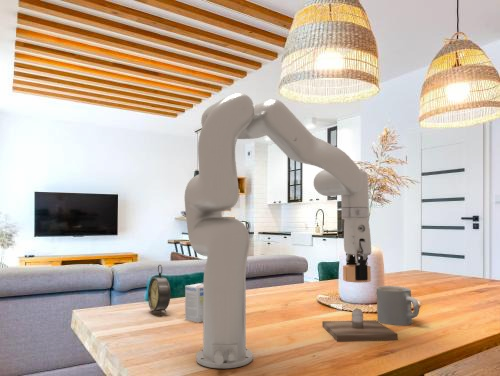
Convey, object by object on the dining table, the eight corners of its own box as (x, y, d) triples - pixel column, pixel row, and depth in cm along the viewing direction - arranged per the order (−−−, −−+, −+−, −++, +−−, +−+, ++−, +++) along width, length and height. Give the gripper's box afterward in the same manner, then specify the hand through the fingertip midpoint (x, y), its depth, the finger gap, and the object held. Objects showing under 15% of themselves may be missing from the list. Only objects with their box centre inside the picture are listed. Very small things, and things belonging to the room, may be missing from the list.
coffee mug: (370, 319, 129) (370, 287, 130) (396, 316, 132) (395, 285, 133) (400, 329, 116) (399, 293, 117) (427, 326, 120) (426, 291, 121)
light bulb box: (208, 313, 137) (208, 281, 138) (223, 316, 133) (223, 283, 134) (183, 319, 129) (184, 285, 130) (198, 323, 125) (199, 287, 126)
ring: (373, 282, 111) (373, 267, 112) (348, 282, 111) (348, 267, 111) (364, 278, 118) (364, 264, 119) (340, 279, 118) (340, 264, 118)
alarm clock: (146, 311, 141) (147, 263, 142) (161, 309, 144) (162, 262, 145) (157, 317, 132) (157, 266, 133) (173, 315, 134) (173, 265, 136)
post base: (397, 339, 106) (397, 314, 107) (337, 341, 105) (336, 315, 106) (375, 325, 121) (375, 303, 122) (322, 326, 120) (322, 303, 121)
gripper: (380, 213, 108) (382, 282, 106) (357, 214, 125) (359, 274, 123) (352, 213, 107) (353, 283, 106) (333, 214, 124) (334, 274, 123)
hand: (356, 277), depth 115 cm, fingers closed on ring, 7 cm apart
